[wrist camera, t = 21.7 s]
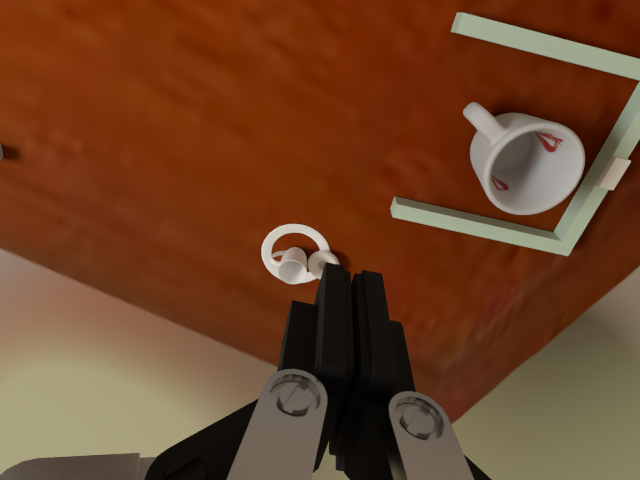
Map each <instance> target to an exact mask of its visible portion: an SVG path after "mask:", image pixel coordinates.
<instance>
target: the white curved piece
mask: <svg viewBox="0 0 640 480" xmlns="http://www.w3.org/2000/svg"><path fill="white" fill-rule="evenodd" d="M293 232H297V233H302V234H305V235H308V236H309V237H311V238H312V239H313V240H314V241H315V242H316V243H317V244H318V246H319V249H320V251H317V252H314V253H313V254H312V255H311V256H310V257H309V260H308V268H309V271H310V272H308V273H307V258H306V255H305V253H304V251H303V250H302V249H300V248H298V247H292V248H290V249H288V250H287V251H278V252H275V253H274V254H272V255H271V250H272V246H273V244H274V242H275V241H276V240H277V239H278V238H279V237H280V236H282V235H284V234H287V233H293ZM279 255H283V257H282V259H281V261H279V262H278V261H275V260H274V259H273V257H275V256H279ZM262 259H263V262H264V264H265V266H266V267H267V269H268V270H269V271H270V272H271V273H272V274H273V275H274V276H276V277H277V278H279V279H281V280H283V281H284V282H286V283H288V284H298V283H305V282H309V281H312V280H314V279H316V278H318V279H321V276H322V272H323V268H324V265H325V263H326V262H328V263H333V264H338V265H339V261H338V259H337V257H336V256H335V255H334V254H332V253H331V252H330V248H329V245H328V243H327V241H326V240H325V238H324V237H323V236H322V235H321V234H320V233H319V232H318V231H316V230H315V229H313V228H311V227H309V226H306V225H302V224H287V225H283V226H280V227H278V228H276V229H274V230H273V231H272V232H270V233H269V234H268V236H267V237H266V238H265V240H264V242H263V245H262ZM277 266H279V267H277Z"/></svg>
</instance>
